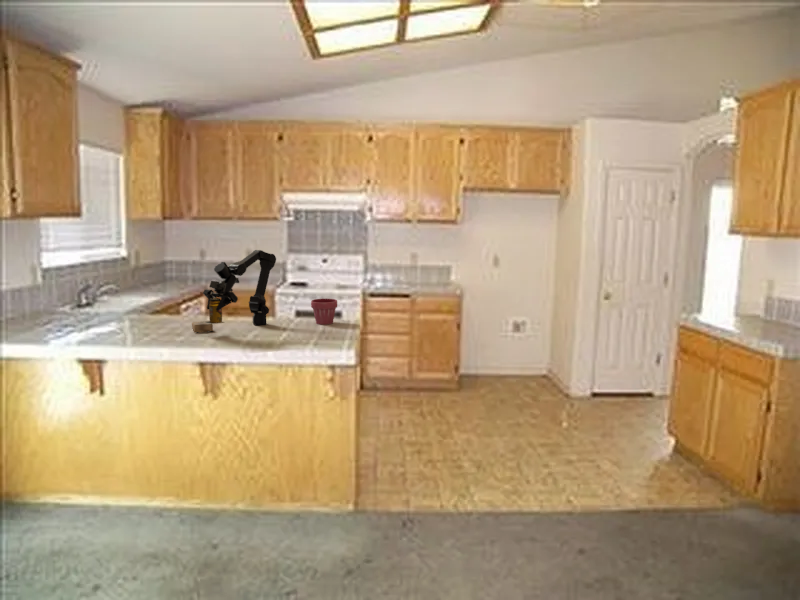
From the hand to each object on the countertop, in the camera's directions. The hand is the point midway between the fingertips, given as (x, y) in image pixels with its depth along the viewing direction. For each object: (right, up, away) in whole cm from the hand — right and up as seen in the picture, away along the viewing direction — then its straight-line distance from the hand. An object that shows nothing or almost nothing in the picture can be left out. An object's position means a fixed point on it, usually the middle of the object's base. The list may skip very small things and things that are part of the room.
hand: (212, 309), depth 320 cm
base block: (-9, -11, +14) cm, 20 cm away
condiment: (0, -7, +2) cm, 7 cm away
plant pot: (+51, -8, +37) cm, 64 cm away
